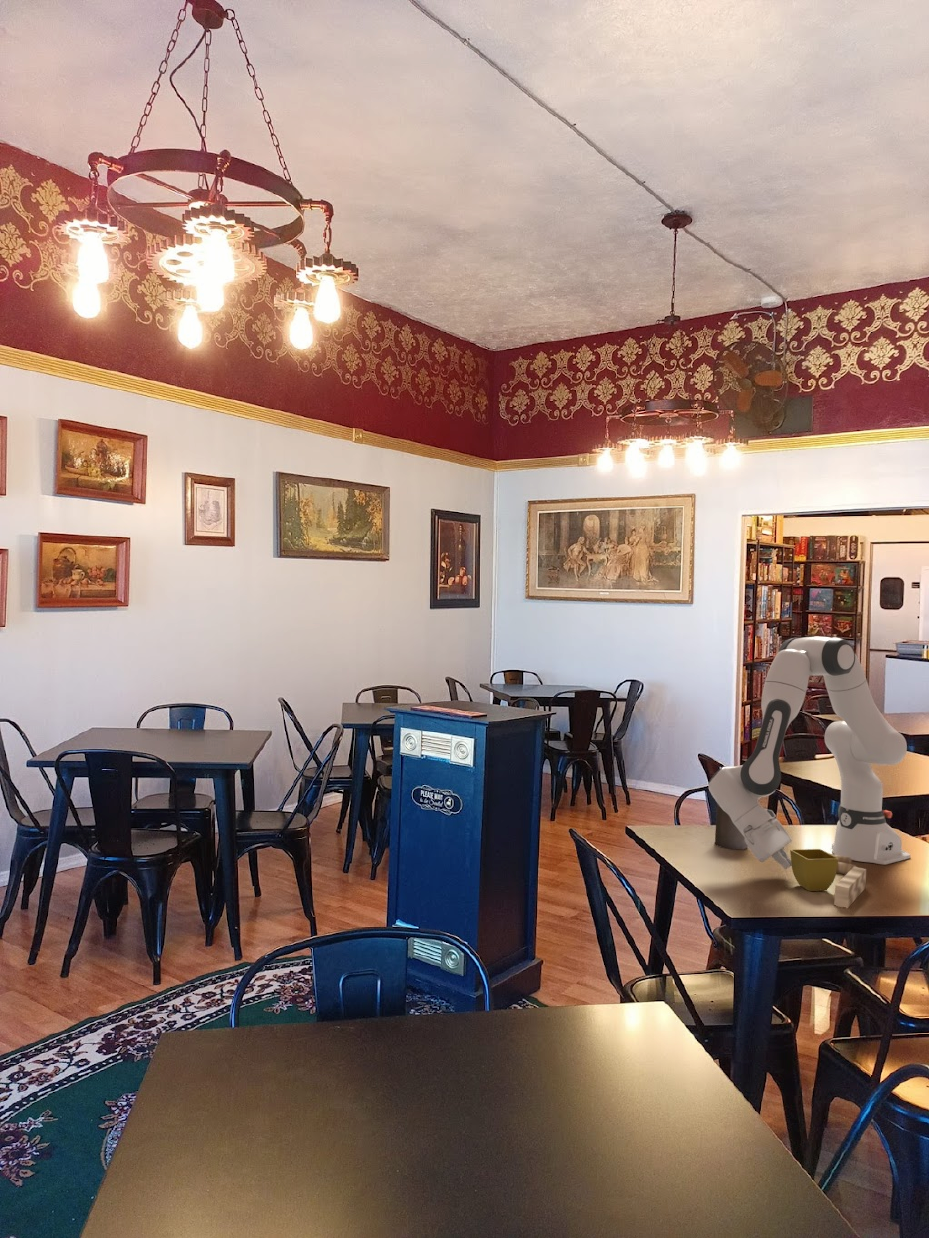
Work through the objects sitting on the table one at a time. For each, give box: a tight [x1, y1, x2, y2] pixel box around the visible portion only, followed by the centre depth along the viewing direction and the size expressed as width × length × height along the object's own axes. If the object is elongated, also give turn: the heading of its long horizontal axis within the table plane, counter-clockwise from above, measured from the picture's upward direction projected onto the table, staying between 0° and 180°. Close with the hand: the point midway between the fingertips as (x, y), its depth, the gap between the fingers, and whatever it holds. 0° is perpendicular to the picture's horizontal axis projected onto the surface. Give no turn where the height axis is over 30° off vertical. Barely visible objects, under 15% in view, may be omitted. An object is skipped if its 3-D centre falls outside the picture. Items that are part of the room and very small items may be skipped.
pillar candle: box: [714, 802, 749, 850], centre depth 266 cm, size 10×10×15 cm
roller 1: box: [828, 852, 852, 864], centre depth 250 cm, size 8×3×3 cm, turn 54°
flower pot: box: [789, 848, 839, 892], centre depth 228 cm, size 9×9×9 cm
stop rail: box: [834, 866, 867, 909], centre depth 223 cm, size 20×3×5 cm, turn 144°
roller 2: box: [836, 862, 857, 875], centre depth 243 cm, size 8×3×3 cm
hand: (789, 866), depth 231 cm, fingers closed, pressing on flower pot
